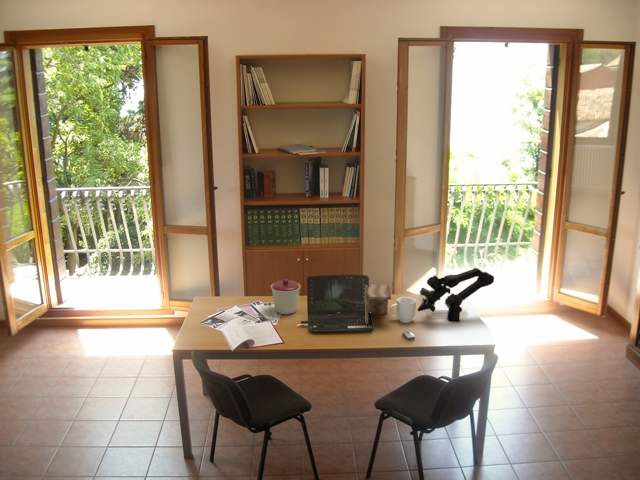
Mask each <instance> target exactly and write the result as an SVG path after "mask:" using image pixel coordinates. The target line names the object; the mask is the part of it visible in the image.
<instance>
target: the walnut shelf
mask: <svg viewBox="0 0 640 480" xmlns="http://www.w3.org/2000/svg"><path fill="white" fill-rule="evenodd" d="M367 284H368V283H367ZM368 285H369V287H368ZM368 285H365V284H364V302H365V316H364V324H365V323H366V324H368V325H369V314H368V313H369V306H370V312H371V314H372V315H374V314H375V315H388V305H389V304H388V303H389V300H392V296H391V290H390V286H389V284H377V283H375V284H373V283H372V284H368Z"/></svg>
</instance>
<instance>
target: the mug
mask: <svg viewBox="0 0 640 480" xmlns="http://www.w3.org/2000/svg"><path fill="white" fill-rule="evenodd" d="M416 304H417V300H416V299H415V298H413V297H409V296H401V297H399V298H397V299H396V303H393V304H392V305H391V306H390V308H389V313H390V315H391V316H392V317H393V318H398V320H399V321H400V322H401V323H404V324H408V323H411V322H412V321H413V320H414V317H415V315H416V307H417V305H416ZM393 307H396V314H397V315H396V314H393V312H392V311H393V310H392V309H393Z"/></svg>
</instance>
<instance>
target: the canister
mask: <svg viewBox="0 0 640 480" xmlns="http://www.w3.org/2000/svg"><path fill="white" fill-rule="evenodd" d="M270 289H271V291H272V299H273V304H274V310H275V311H276V312H277V313H278V314H281V315H291V314H293V313H294V314H295V312H296V311H297V310H298V304H299V297H300V289H301V284H300V283H298V282H297V281H294V280H290V279H288V278H284V279H283V280H278V281H276V282H274V283H272V284H271V286H270Z"/></svg>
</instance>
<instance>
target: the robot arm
mask: <svg viewBox="0 0 640 480" xmlns="http://www.w3.org/2000/svg"><path fill="white" fill-rule="evenodd" d="M476 277H477V278H476ZM475 278H476V280H475V281H474V282H472V283H471V284H470V285H468V286H467V287H465V288H464V289H463V290H461V291H460V292H458V293H456V294H454V293H451V289H453V288H455V287H457V286H458V285H459V284H460V283H462V282H465V281H468V280H471V279H475ZM494 282H495V277H494V276H493V275H492V274H491V273H489V272H487V271H482V270H481V269H480V268H478V267H474V268H473V269H469V270H467V271H463V272H460V273H459V274H447V275H444V277H440V278H439V277H438V276H437V275H436V274H434V275H433V276H431V277H429V278H428V279H427V281H426V285H428V286H429V287H430V288H431V290H429V289H426V288H424V287H421V288H420V290H419V295H421V296H423V297H422V301H421V304H420V305H419V307H418V308H417V312H421V311H426V310H430V311H431V312H432V313H434V312H435V311H436V306H435V304H436V303H437V301H441V298H442V297H443V296H444V295H445V294H446V295H447V293H448V295H449V296H447V298H445V301H444V305H445V306H446V307H447V308H448V310H447V311H446V313H447V314H446V316H447V317H446V319H447V320H448V321H449V322H455V323H456V322H461V320H460V316H461V315H460V314H461V313H462V312H463V308H462V307H461V305H462V303H463V301H465V300H466V299H467V298H468V297H470V296H471V295H472V294H474V293H475V292H477V291H478V290H480V289H481V288H484V287H487V286H491V285H492V284H493V283H494Z"/></svg>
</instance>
